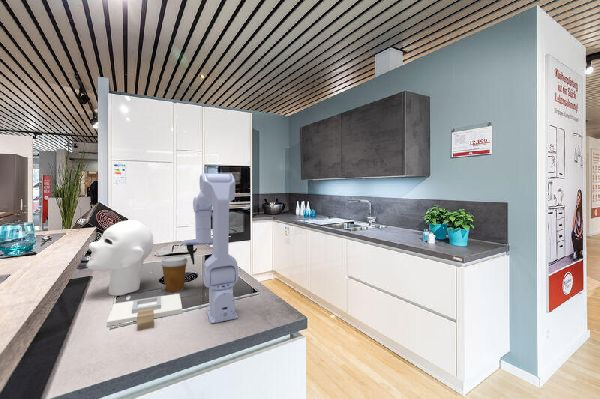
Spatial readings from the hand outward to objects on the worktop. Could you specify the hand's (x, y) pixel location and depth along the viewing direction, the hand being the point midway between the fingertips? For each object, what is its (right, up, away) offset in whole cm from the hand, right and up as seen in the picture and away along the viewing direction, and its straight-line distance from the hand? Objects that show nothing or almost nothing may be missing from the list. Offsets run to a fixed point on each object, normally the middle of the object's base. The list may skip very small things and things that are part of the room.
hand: (204, 262), depth 113 cm
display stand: (-12, -11, -20) cm, 25 cm away
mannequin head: (-30, -10, -2) cm, 32 cm away
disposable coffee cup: (-11, -10, 0) cm, 15 cm away
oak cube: (-7, -12, -29) cm, 32 cm away
